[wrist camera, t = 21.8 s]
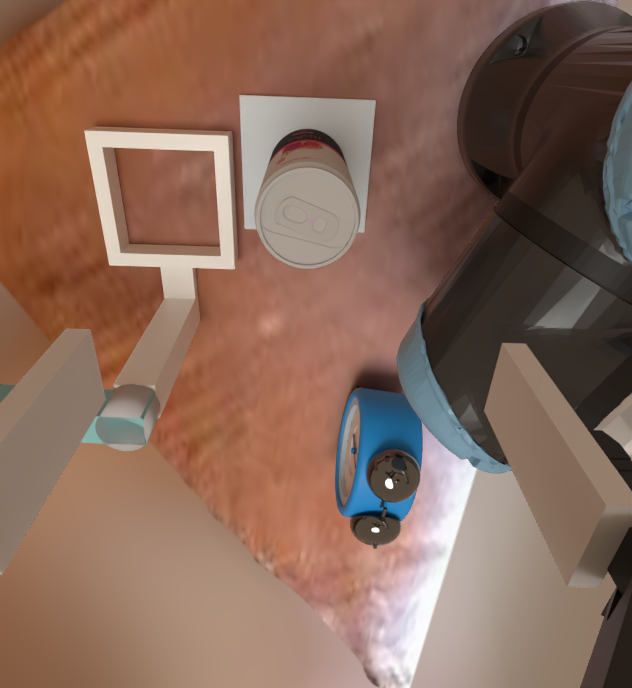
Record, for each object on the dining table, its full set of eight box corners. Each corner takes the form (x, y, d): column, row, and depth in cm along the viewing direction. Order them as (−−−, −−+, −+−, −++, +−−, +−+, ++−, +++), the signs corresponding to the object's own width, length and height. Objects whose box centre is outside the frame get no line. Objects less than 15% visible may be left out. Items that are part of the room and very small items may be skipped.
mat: (375, 99, 41) (375, 100, 40) (363, 230, 46) (364, 232, 46) (240, 94, 41) (239, 95, 40) (245, 226, 46) (244, 228, 46)
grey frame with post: (232, 131, 42) (193, 170, 28) (241, 321, 51) (215, 419, 38) (95, 126, 42) (-9, 163, 28) (129, 318, 51) (63, 415, 38)
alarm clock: (355, 362, 54) (369, 460, 41) (410, 370, 54) (441, 470, 42) (332, 451, 60) (337, 560, 48) (381, 457, 61) (400, 567, 48)
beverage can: (287, 113, 41) (277, 144, 28) (358, 148, 42) (381, 193, 29) (258, 188, 44) (238, 247, 31) (326, 218, 45) (333, 286, 32)
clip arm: (-54, 374, 35) (-83, 400, 33) (158, 385, 36) (145, 411, 33) (-38, 414, 37) (-65, 442, 34) (162, 424, 38) (151, 451, 35)
